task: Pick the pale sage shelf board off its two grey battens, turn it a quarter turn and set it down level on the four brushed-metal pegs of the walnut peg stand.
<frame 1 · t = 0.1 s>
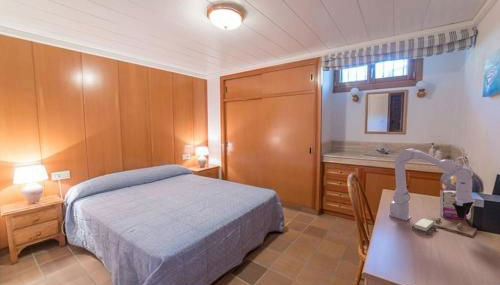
hand: (463, 215, 107), 10 cm above the table, tool pointing down, fingers open, 7 cm apart
candy bar box: (452, 217, 128), on the table
peg stand: (448, 226, 116), on the table
battens: (424, 229, 114), on the table
shelf board: (424, 226, 114), point 2 cm above the table, touching battens
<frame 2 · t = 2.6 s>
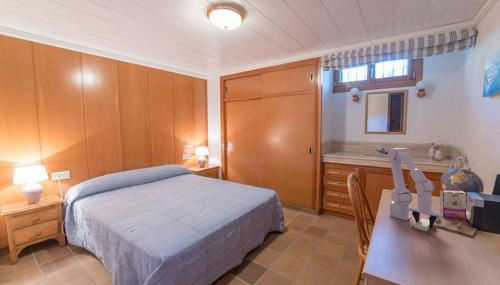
hand: (424, 226, 114), 2 cm above the table, tool pointing down, fingers closed on shelf board, 5 cm apart
shelf board: (424, 226, 114), point 2 cm above the table, touching battens, gripper
everything else where it was.
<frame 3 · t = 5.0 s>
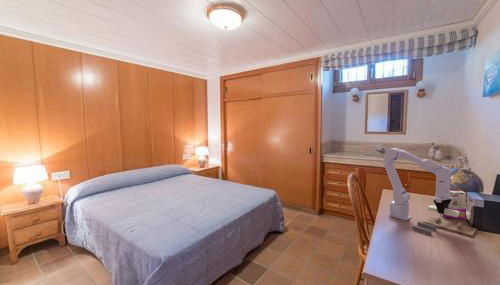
hand: (442, 212, 115), 9 cm above the table, tool pointing down, fingers closed on shelf board, 5 cm apart
shelf board: (443, 212, 115), point 9 cm above the table, touching gripper
everything else where it was.
when the fingers open (4 cm above the table, at t = 7.4 s): shelf board stays where it is, resting on peg stand.
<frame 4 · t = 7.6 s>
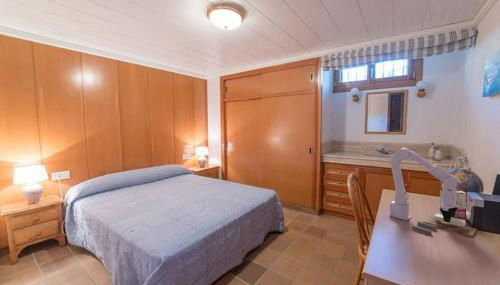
hand: (448, 220, 116), 4 cm above the table, tool pointing down, fingers open, 6 cm apart
shelf board: (449, 221, 116), point 3 cm above the table, touching peg stand
everything else where it was.
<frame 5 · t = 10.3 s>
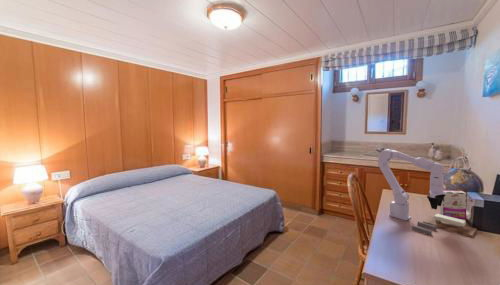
hand: (436, 207, 119), 10 cm above the table, tool pointing down, fingers open, 7 cm apart
nothing on the table moved.
at the end: shelf board 0.3 cm off-centre on the peg stand, point 3.2 cm above the peg stand's base; shelf board tilted 0°; the gripper is holding nothing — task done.
